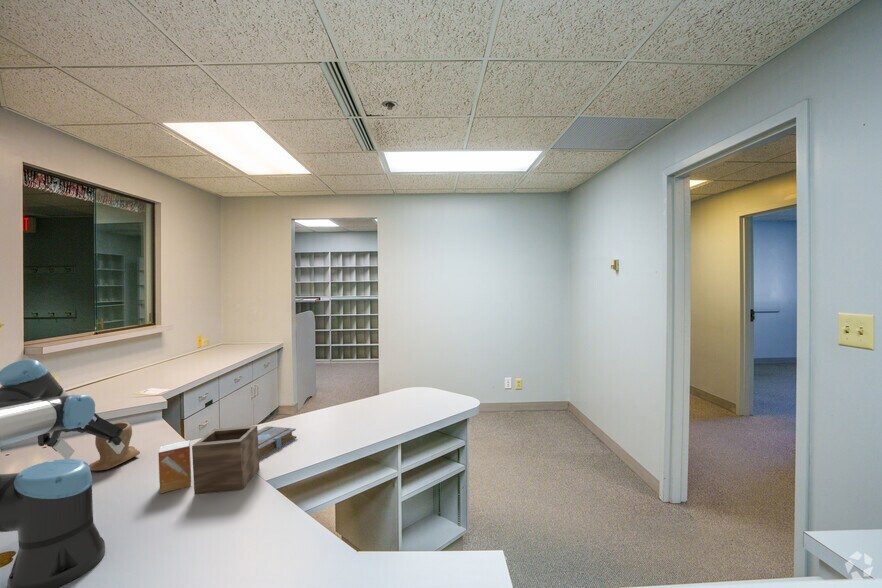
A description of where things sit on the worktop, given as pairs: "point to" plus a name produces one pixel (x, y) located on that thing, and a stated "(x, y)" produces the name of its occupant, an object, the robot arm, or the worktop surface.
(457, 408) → the worktop surface
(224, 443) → the open wooden box
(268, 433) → the book
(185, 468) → the small box
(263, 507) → the worktop surface
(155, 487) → the worktop surface
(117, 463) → the stone cup
